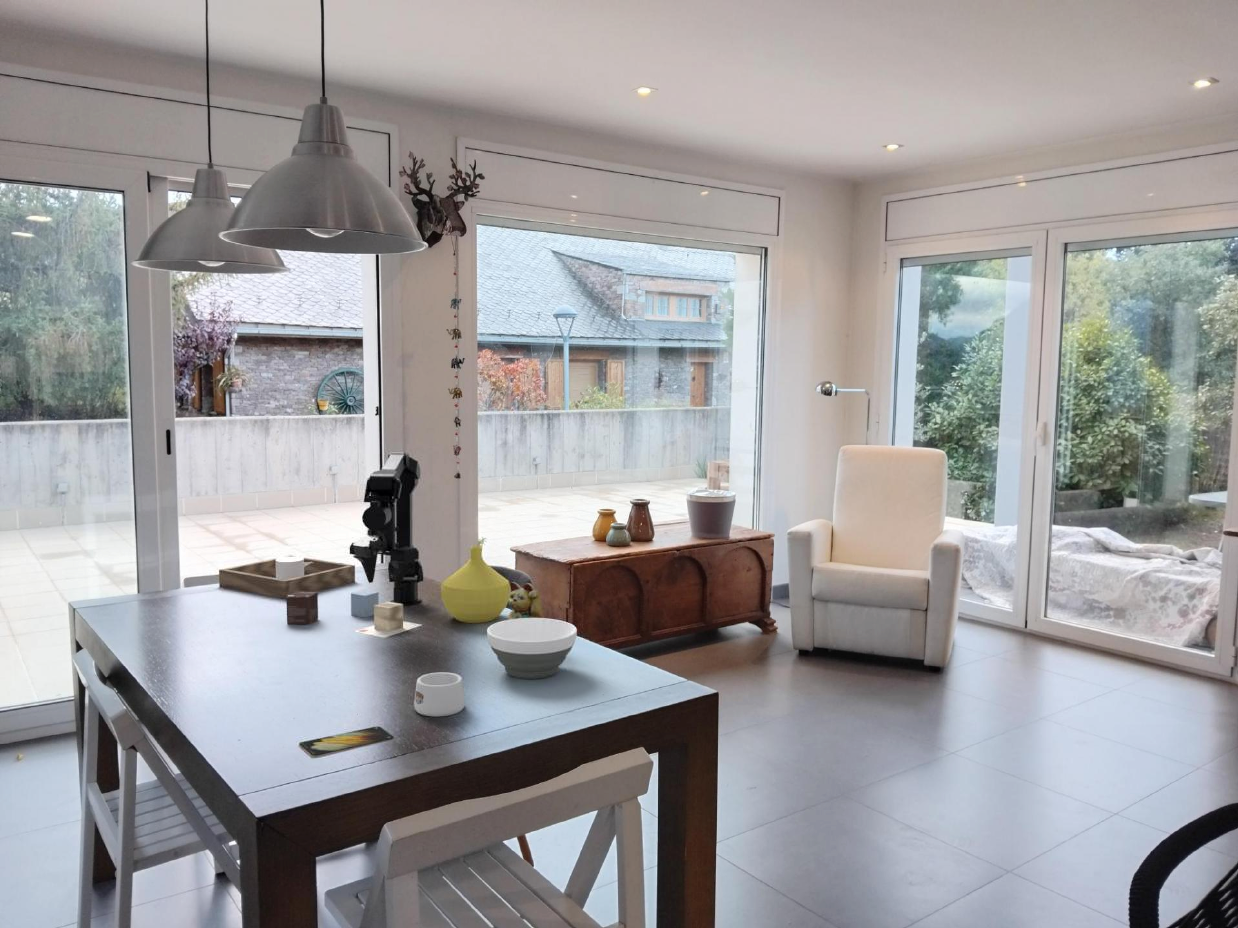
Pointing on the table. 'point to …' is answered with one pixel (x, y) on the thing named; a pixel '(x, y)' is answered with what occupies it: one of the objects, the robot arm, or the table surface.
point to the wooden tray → (261, 582)
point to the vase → (475, 591)
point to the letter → (384, 634)
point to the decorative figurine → (524, 602)
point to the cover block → (388, 616)
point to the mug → (439, 694)
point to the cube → (364, 603)
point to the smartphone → (345, 741)
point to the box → (302, 607)
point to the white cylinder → (290, 567)
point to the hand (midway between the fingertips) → (384, 584)
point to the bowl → (531, 645)
